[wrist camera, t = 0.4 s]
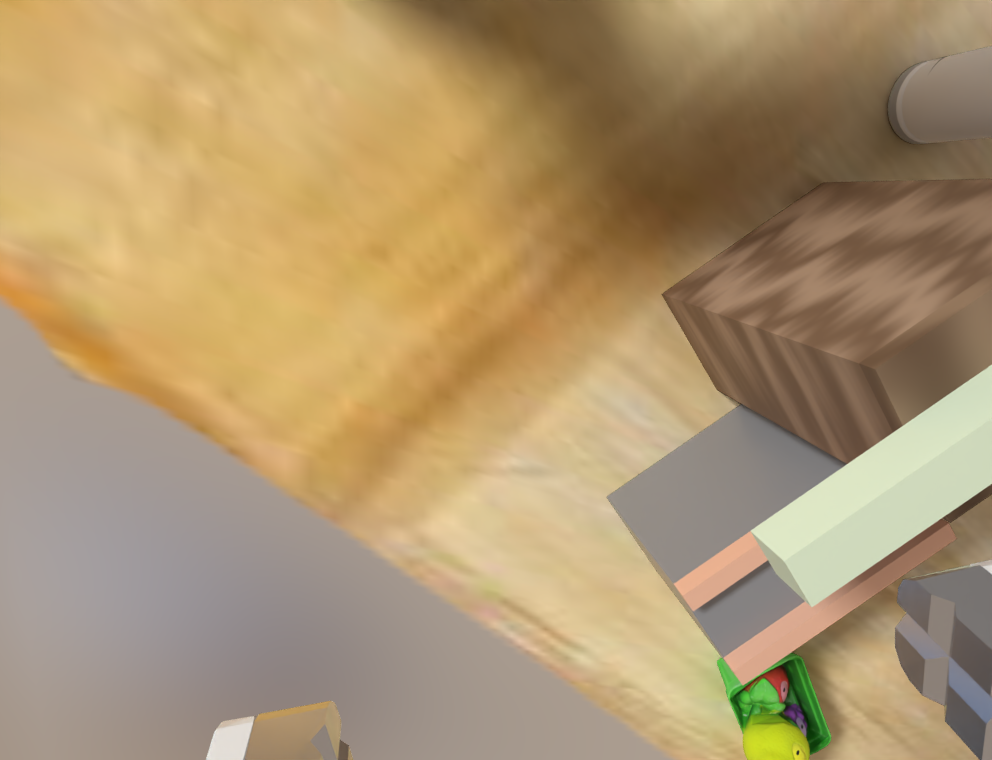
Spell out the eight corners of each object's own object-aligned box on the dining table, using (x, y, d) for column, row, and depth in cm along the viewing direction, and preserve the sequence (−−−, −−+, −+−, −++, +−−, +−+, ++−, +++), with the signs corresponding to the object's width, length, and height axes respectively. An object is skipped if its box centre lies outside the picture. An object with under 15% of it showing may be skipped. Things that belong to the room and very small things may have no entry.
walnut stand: (716, 389, 62) (950, 522, 37) (661, 294, 59) (875, 369, 34) (870, 283, 61) (1208, 345, 37) (823, 182, 58) (1156, 175, 34)
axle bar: (776, 574, 36) (811, 607, 33) (750, 530, 35) (784, 561, 32) (1174, 300, 36) (1244, 310, 33) (1158, 250, 35) (1229, 254, 32)
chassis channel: (655, 569, 65) (742, 685, 50) (606, 497, 62) (682, 595, 47) (819, 457, 65) (956, 538, 50) (776, 379, 62) (908, 440, 47)
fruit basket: (803, 706, 72) (879, 796, 61) (726, 746, 72) (788, 844, 61) (770, 619, 69) (844, 699, 58) (688, 662, 68) (747, 750, 58)
